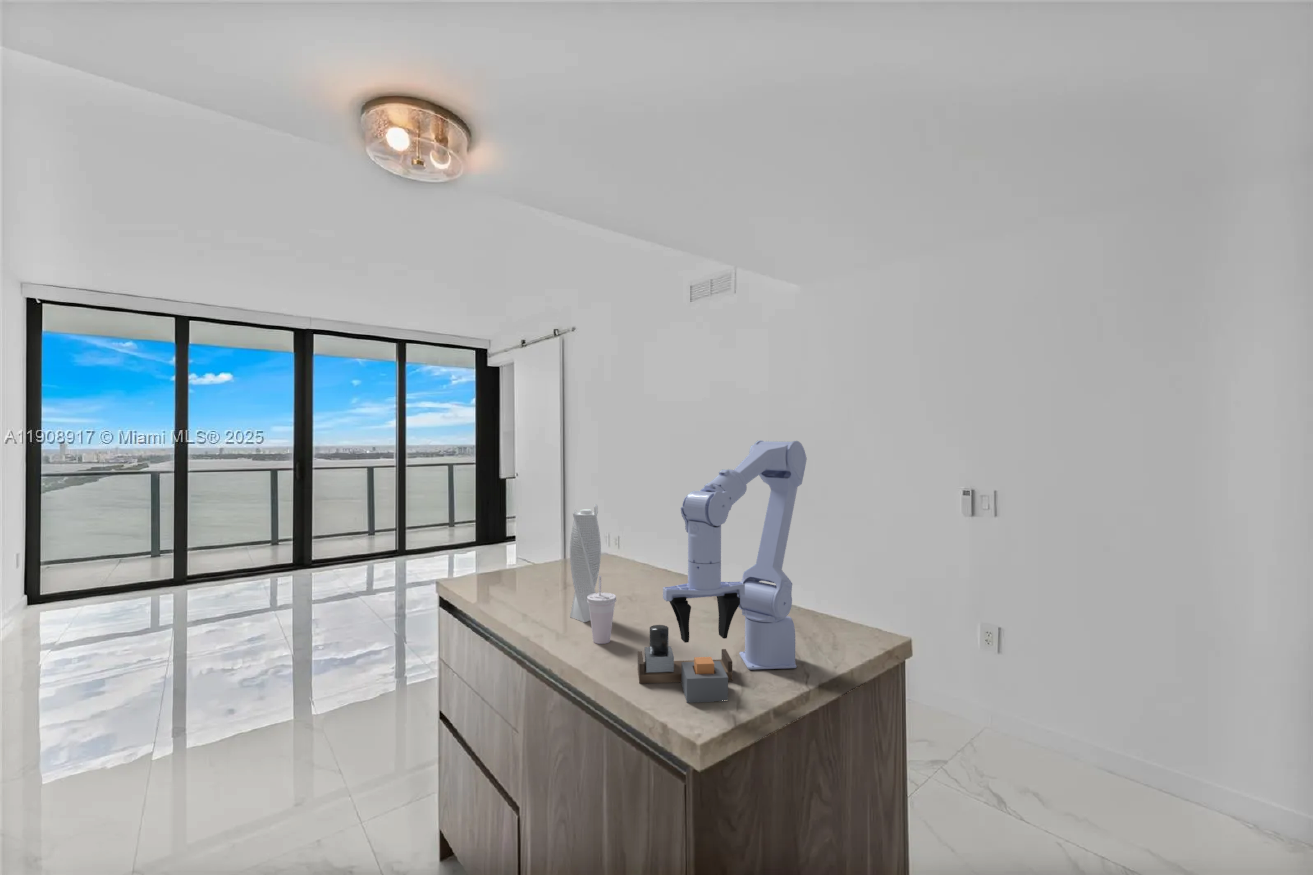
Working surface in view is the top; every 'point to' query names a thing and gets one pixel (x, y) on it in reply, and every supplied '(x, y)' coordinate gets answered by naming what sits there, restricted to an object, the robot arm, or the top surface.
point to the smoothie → (601, 615)
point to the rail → (676, 670)
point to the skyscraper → (584, 560)
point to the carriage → (659, 651)
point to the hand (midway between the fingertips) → (704, 638)
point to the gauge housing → (704, 684)
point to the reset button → (703, 665)
